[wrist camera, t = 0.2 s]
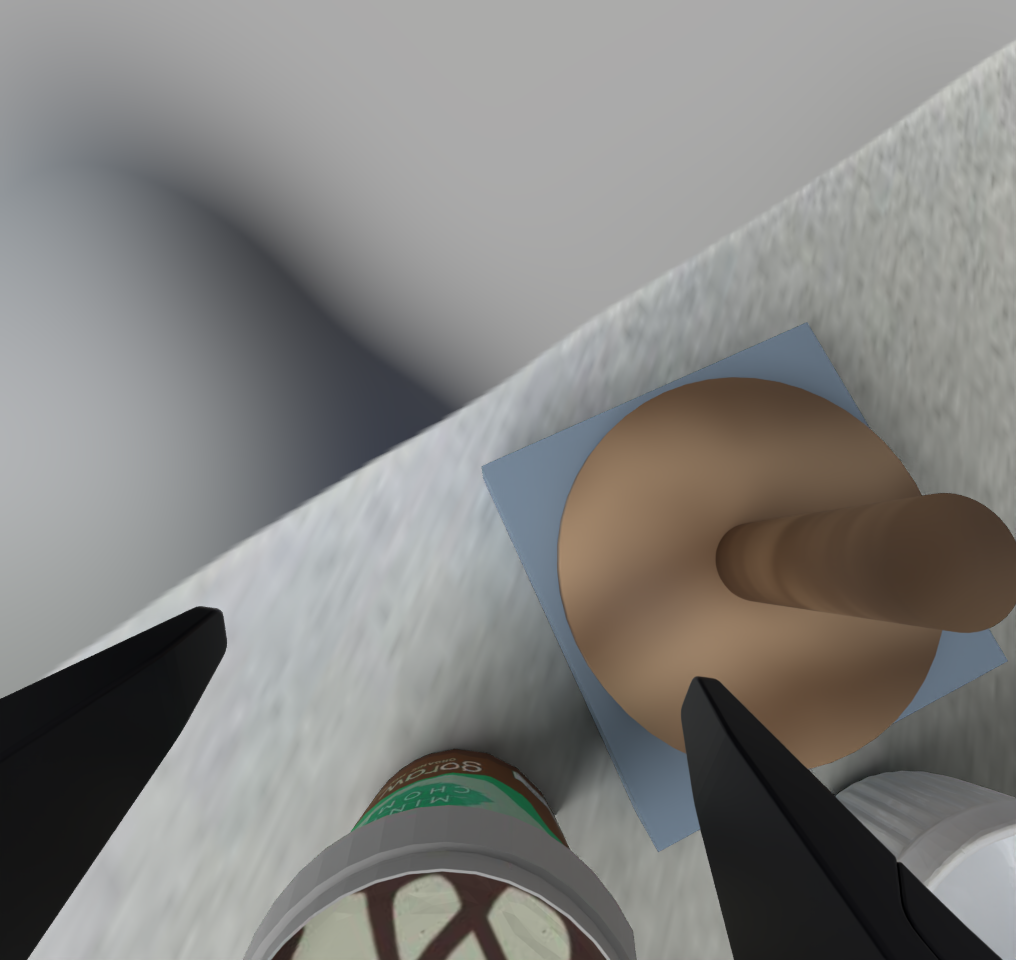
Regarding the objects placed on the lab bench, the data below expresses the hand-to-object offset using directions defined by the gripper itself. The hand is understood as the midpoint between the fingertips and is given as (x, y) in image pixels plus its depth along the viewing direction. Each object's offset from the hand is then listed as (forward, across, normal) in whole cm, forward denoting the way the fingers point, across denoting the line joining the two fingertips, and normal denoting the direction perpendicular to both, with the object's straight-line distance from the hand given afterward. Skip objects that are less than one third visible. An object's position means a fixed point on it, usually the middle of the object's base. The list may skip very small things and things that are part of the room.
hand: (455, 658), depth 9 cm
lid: (+11, -11, +4) cm, 16 cm away
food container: (+7, +1, +16) cm, 17 cm away
